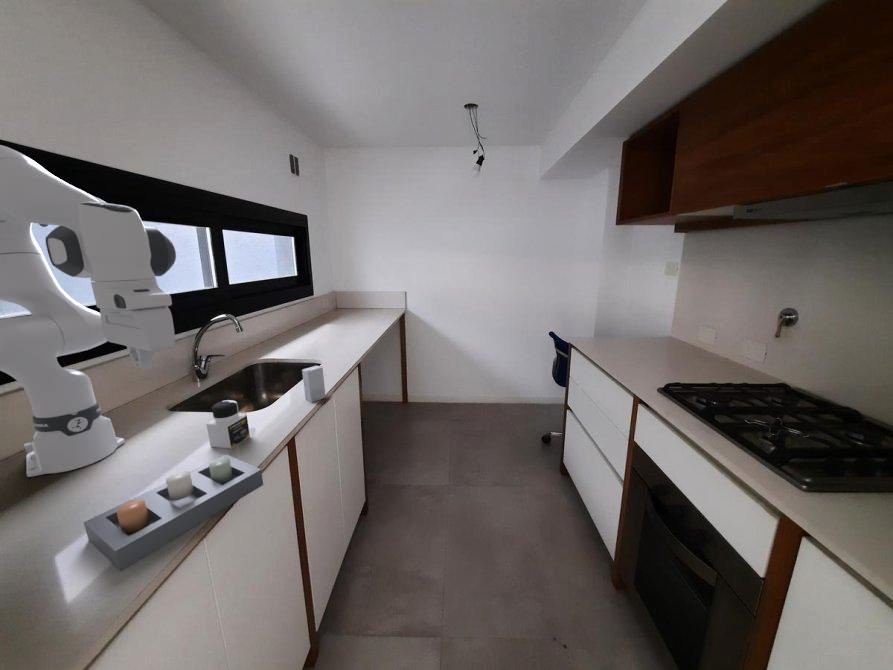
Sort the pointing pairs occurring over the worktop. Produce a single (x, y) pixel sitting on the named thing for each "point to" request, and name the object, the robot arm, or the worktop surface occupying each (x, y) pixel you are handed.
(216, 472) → the button sage
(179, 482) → the button cream
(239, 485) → the tray
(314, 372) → the skincare box
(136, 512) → the button terracotta
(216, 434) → the medicine bottle
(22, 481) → the worktop surface
